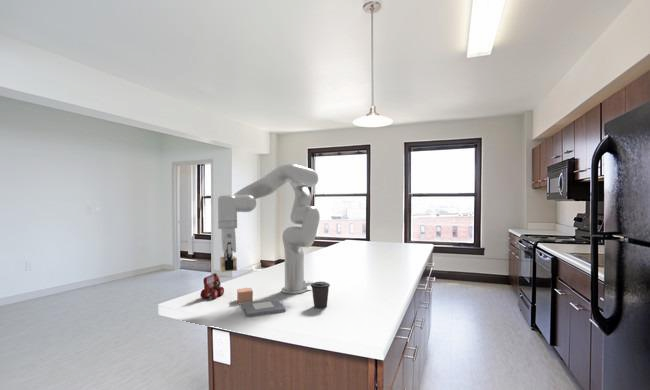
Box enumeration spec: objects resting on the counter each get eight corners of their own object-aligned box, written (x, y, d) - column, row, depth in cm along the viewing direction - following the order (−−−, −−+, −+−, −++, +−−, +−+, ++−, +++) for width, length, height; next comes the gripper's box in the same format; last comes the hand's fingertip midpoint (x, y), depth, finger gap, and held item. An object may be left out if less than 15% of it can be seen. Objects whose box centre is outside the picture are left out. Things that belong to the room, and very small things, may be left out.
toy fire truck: (226, 293, 153) (226, 271, 154) (211, 301, 141) (211, 277, 141) (213, 292, 155) (213, 271, 155) (198, 300, 143) (198, 277, 143)
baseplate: (276, 301, 140) (276, 298, 140) (285, 311, 126) (285, 308, 126) (242, 305, 134) (242, 302, 134) (247, 316, 121) (247, 313, 121)
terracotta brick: (250, 298, 145) (250, 287, 145) (252, 302, 139) (252, 291, 139) (237, 300, 142) (237, 289, 143) (238, 304, 137) (238, 292, 137)
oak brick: (235, 267, 135) (234, 255, 135) (236, 270, 129) (236, 258, 129) (220, 269, 133) (220, 257, 133) (221, 272, 127) (221, 259, 127)
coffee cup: (316, 311, 126) (315, 285, 127) (307, 305, 134) (307, 281, 134) (333, 307, 130) (333, 283, 130) (324, 302, 137) (324, 279, 138)
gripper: (239, 225, 125) (240, 271, 124) (234, 223, 141) (235, 263, 140) (219, 226, 122) (220, 273, 122) (217, 224, 138) (217, 265, 138)
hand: (228, 268), depth 131 cm, fingers closed on oak brick, 6 cm apart
